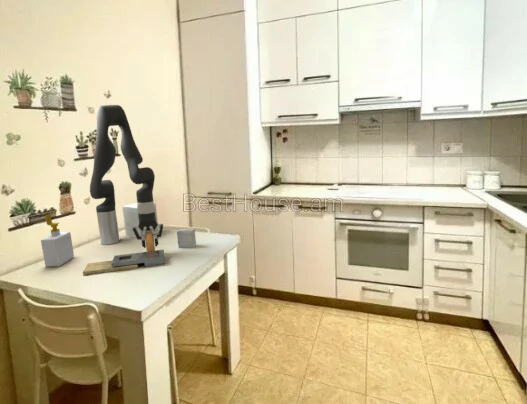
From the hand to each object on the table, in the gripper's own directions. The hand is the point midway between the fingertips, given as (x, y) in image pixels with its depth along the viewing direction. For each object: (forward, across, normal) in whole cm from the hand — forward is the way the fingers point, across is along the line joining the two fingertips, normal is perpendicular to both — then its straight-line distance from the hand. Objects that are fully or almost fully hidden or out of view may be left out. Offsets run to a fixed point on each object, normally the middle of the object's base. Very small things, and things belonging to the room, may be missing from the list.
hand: (150, 246), depth 162 cm
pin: (+4, 0, 0) cm, 4 cm away
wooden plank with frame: (+4, +10, +11) cm, 15 cm away
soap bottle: (+4, +40, -6) cm, 41 cm away
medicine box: (+4, -17, -5) cm, 18 cm away
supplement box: (+4, +6, -38) cm, 39 cm away
